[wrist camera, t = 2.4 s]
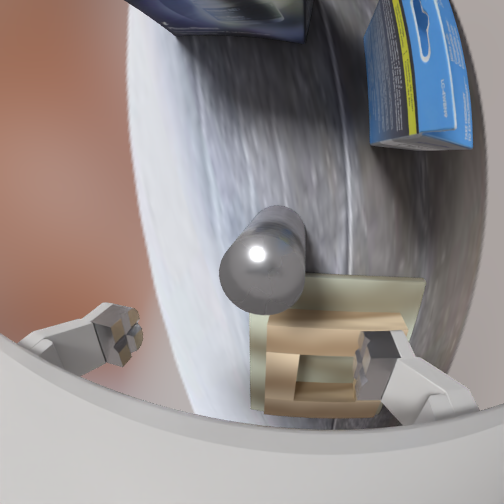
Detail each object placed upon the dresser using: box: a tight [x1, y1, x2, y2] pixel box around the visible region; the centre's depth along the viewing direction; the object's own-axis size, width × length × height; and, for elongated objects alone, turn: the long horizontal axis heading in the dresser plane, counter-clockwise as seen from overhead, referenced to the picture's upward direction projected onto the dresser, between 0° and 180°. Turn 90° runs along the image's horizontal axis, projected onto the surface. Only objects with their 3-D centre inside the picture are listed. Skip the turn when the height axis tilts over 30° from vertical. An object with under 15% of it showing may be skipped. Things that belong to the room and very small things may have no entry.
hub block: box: [249, 273, 426, 418], centre depth 21 cm, size 16×14×3 cm
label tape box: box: [364, 0, 473, 151], centre depth 9 cm, size 9×4×12 cm, turn 0°
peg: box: [219, 206, 305, 315], centre depth 16 cm, size 4×4×8 cm
